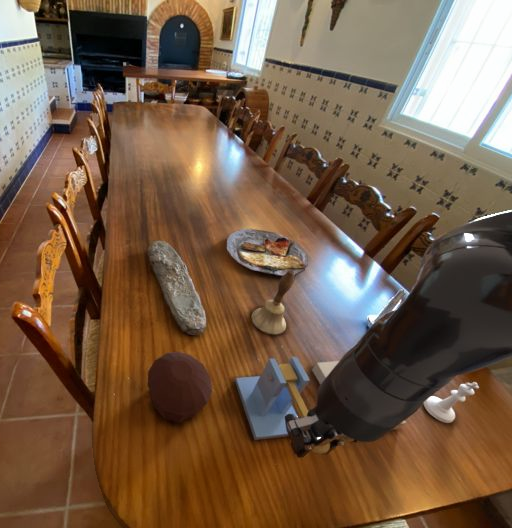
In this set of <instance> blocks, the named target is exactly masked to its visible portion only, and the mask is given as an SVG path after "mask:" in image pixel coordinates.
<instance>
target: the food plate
mask: <svg viewBox="0 0 512 528" xmlns="http://www.w3.org/2000/svg"><path fill="white" fill-rule="evenodd" d="M226 250H227V252H228V254H229V255H230V256H231V258H233V259H234V260H235V261H236V262H237V263H239V264H240V265H242V266H243V267H245V268H247V269H249V270H251V271H256V272H261V273H264V274H269V275H274V276H281V277H282V276H283V275H284V274H286V273H287V271H288V270H292V271H294V277H295V276H297V275H300V274H301V273H303V272H305V271H306V269H307V268H308V265H309V259H308V254H307V252H306V251H305V250H304V249H303V248H302V247H301V246H300V245H299V244H298V243H297V242H295V241H294V240H292V239H291V238H288V237H286V236H284V235H281V234H279V233H277V232H273V231H268V230H262V229H254V228H242V229H238V230H236V231H234V232H232V233H230V234H229V235H228V237H227V239H226Z"/></svg>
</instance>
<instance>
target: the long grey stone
mask: <svg viewBox="0 0 512 528" xmlns="http://www.w3.org/2000/svg"><path fill="white" fill-rule="evenodd" d="M147 256H148V260H149V263H150V266H151V268H152V271H153V273H154V274H155V276H156V279H157V281H158V283H159V285H160V289H161V292H162V294H163V299H164V301H165V302H166V304H167V306H168V307H169V310H170V312H171V314H172V318H174V320H175V322H176V324H177V326H178V327H179V328H180V329H181V331H182V332H185V334H188V335H191V336H199V335H202V334H203V333H204V332H205V330H206V328H207V315H206V309H204V307H203V303H202V302H201V298H200V297H201V296H200V295H199V293H198V292H197V291H196V288H195V285H194V283H193V282H194V281H193V280H192V278H191V276H190V274H189V271H188V267H187V265H186V263H185V262H184V261H183V260H182V257H181V256H180V255H179V254H178V253H177V251H176V250H175V249H174V247H172V246H171V245H170V244H169V243H168V242H166V241H164V240H155V241H153V242H151V244H150V245H148V248H147Z"/></svg>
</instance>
